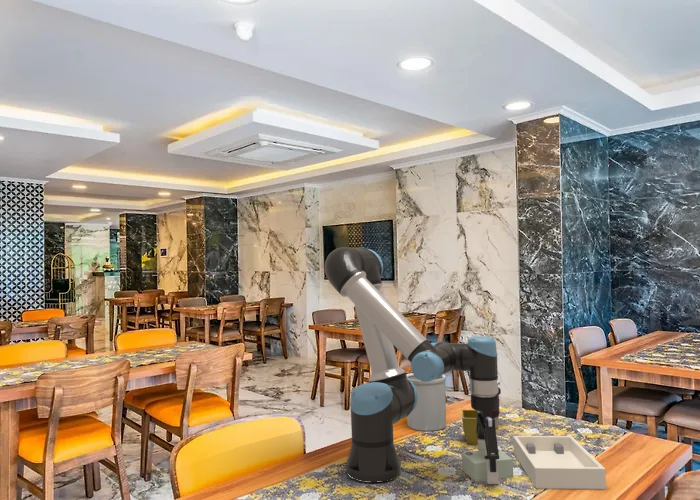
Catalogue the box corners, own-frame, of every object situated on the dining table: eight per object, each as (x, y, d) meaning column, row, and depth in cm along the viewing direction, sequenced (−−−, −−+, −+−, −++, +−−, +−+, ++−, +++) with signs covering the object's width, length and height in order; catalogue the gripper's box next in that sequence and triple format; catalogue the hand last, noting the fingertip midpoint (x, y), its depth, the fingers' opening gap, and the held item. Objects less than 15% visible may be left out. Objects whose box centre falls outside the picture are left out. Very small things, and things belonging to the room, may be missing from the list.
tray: (536, 488, 125) (535, 468, 125) (513, 452, 149) (513, 435, 149) (606, 489, 123) (605, 468, 123) (572, 453, 147) (571, 436, 147)
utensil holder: (401, 420, 183) (400, 372, 184) (440, 417, 185) (439, 370, 186) (410, 433, 169) (409, 381, 169) (453, 430, 170) (451, 379, 171)
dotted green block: (475, 482, 130) (474, 462, 130) (462, 470, 137) (461, 451, 138) (513, 477, 132) (512, 458, 132) (498, 466, 140) (497, 447, 140)
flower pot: (491, 447, 153) (490, 418, 154) (463, 446, 155) (462, 417, 155) (489, 438, 162) (488, 410, 162) (462, 436, 164) (461, 409, 164)
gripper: (508, 406, 123) (513, 493, 122) (489, 383, 147) (493, 455, 147) (478, 406, 123) (481, 493, 122) (464, 383, 148) (467, 455, 147)
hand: (488, 472), depth 134 cm, fingers open, 13 cm apart
